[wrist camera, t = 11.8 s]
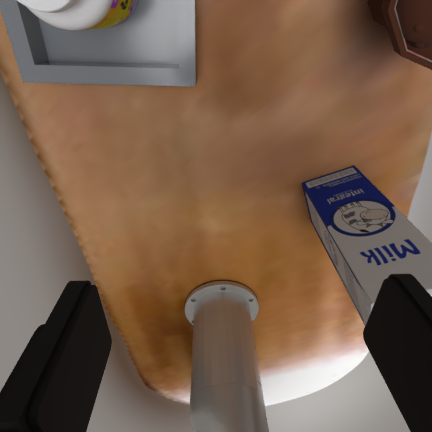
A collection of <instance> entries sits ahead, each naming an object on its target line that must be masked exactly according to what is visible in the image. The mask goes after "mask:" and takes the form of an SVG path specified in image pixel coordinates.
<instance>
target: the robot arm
mask: <svg viewBox="0 0 432 432" xmlns="http://www.w3.org/2000/svg"><path fill="white" fill-rule="evenodd" d="M258 310H259V305H258V300H257V297H256V295H255V294H254V293H253V291H252V290H250V289H249V288H248V287H246V286H244V285H242V284H239V283H236V282H231V281H214V282H210V283H206V284H204V285H201V286H199V287H198V288H196V289H195V290H193V291H192V292H191V293H190V294H189V296H188V297H187V299H186V302H185V315H186V318H187V319H188V321H189V322H190V323H191V324H192V325H193V344H192V370H191V396H190V419H191V425H192V428H193V431H194V432H269V429H268V424H267V418H266V412H265V405H264V399H263V392H262V385H261V379H260V372H259V366H258V359H257V353H256V346H255V340H254V333H253V327H252V321H253V320H254V319H255V318H256V316H257V314H258ZM363 337H364V341H365V343H366V345H367V347H368V349H369V351H370V353H371V355H372V357H373V359H374V361H375V363H376V365H377V367H378V369H379V371H380V373H381V374H382V376H383V378H384V380H385V382H386V384H387V386H388V388H389V390H390V392H391V394H392V396H393V398H394V400H395V402H396V404H397V405H398V408H399V410H400V412H401V413H402V415H403V417H404V419H405V421H406V423H407V425H408V427H409V429H410V431H411V432H432V297H431V295H430V294H429V293H428V292H427V291H426V290H425V288H424V287H423V286H422V285H421V284H420V282H419V281H418V280H417V279H416V278H415V277H414V276H413V275H412V274H390V275H389V276H388V278H387V279H384V281H383V283H382V285H381V288H380V290H379V293H378V295H377V298H376V301H375V303H374V306H373V308H372V311H371V313H370V316H369V318H368V321H367V323H366V326H365V328H364V331H363ZM111 344H112V339H111V335H110V331H109V328H108V325H107V321H106V318H105V314H104V311H103V308H102V304H101V300H100V297H99V294H98V290H97V287H96V286H95V285H91V282H90V281H70V282H69V283H68V284H67V285H66V287H65V289H64V290H63V292H62V294H61V296H60V298H59V300H58V301H57V303H56V305H55V307H54V309H53V310H52V312H51V314H50V316H49V318H48V320H47V321H46V324H43V325H41V326H39V327H38V328H37V330H36V331H35V332H34V334H33V336H32V337H31V339H30V341H29V343H28V345H27V346H26V348H25V350H24V352H23V353H22V355H21V357H20V359H19V360H18V362H17V364H16V366H15V367H14V369H13V371H12V373H11V375H10V376H9V378H8V380H7V382H6V383H5V385H4V387H3V389H2V390H1V392H0V432H86V430H87V426H88V423H89V420H90V417H91V413H92V410H93V407H94V403H95V400H96V397H97V393H98V390H99V386H100V383H101V380H102V376H103V373H104V370H105V367H106V363H107V359H108V357H109V353H110V350H111Z"/></svg>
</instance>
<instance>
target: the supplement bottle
mask: <svg viewBox="0 0 432 432" xmlns="http://www.w3.org/2000/svg"><path fill="white" fill-rule="evenodd" d="M17 1H18V2H20V3H21V4H23V5H25V6H26V7H27V8H28V9H29V10H30V11H31V12H32V13H33V14H35V15H36V16H37V17H39V18H40V19H41V20H43V21H45V22H46V23H48V24H50V25H52V26H55V27H57V28H61V29H65V30H87V29H100V28H109V27H114V26H117V25H120V24H121V23H123V22H124V21H126V20H127V19H128V18H129V17H130V15H131V14H132V12H133V11H134V9H135V6H136V3H137V0H17Z"/></svg>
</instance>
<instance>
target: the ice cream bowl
mask: <svg viewBox="0 0 432 432" xmlns="http://www.w3.org/2000/svg"><path fill="white" fill-rule="evenodd" d="M368 4H369V7H370V10H371V13H372V16H373V19H374V20H375V21H377V22H379V23H381V24H383V25H386V26H387V28H388V31H389V35H390V38H391V41H392V44H393V47H394V51H395V52H397V53H398V54H399V55H401V56H402V57H404V58H407V59H409V60H411V61H413V62H415V63H418V64H420V65H422V66H424V67H427V68H429V69H431V70H432V0H368Z"/></svg>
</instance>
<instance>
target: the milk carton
mask: <svg viewBox="0 0 432 432" xmlns="http://www.w3.org/2000/svg"><path fill="white" fill-rule="evenodd" d="M302 185H303V190H304V194H305V198H306V202H307V206H308V211H309V215H310V219H311V222H312V224H313V226H314V228H315V230H316V232H317V234H318V236H319V238H320V240H321V242H322V244H323V246H324V248H325V250H326V251H327V253H328V255H329V257H330V259H331V261H332V263H333V265H334V267H335V269H336V271H337V273H338V275H339V277H340V278H341V280H342V282H343V284H344V286H345V288H346V290H347V292H348V294H349V296H350V298H351V300H352V302H353V304H354V306H355V307H356V309H357V311H358V313H359V315H360V317H361V319H362V321H363V323H364V325H365V326H366V323H367V321H368V318H369V316H370V313H371V311H372V308H373V306H374V303H375V301H376V298H377V295H378V293H379V290H380V288H381V285H382V283H383V281H384V279H387V278H388V276H389V275H390V274H412V275H413V276H414V277H415V278H416V279H417V280H418V281H419V282H420V284H421V285H422V286H423V287H424V288H425V290H426V291H427V292H428V293H429V294H430V295H431V297H432V243H431V242H430V241H429V240H428V239H427V238H426V237H425V236H424V235H423V234H422V233H421V232H420V231H419V230H418V229H417V228H416V227H415V226H414V225H413V224H412V223H411V222H410V221H409V220H408V219H407V218H406V217H405V216H404V215H403V214H402V213H401V212H400V211H399V210H398V209H397V208H396V207H395V206H394V205H393V204H392V203H391V202H390V201H389V200H388V199H387V198H386V197H385V196H384V195H383V194H382V193H381V192H380V191H379V190H378V189H377V188H376V187H375V186H374V185H373V184H372V183H371V182H370V181H369V180H368V179H367V178H366V177H365V176H364V175H363V174H362V173H361V172H360V171H359V170H358V169H357V168H356V167H355V166H352V167H349V168H346V169H343V170H340V171H337V172H334V173H331V174H328V175H325V176H322V177H319V178H316V179H312V180H309V181H306V182H303V183H302Z"/></svg>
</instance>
